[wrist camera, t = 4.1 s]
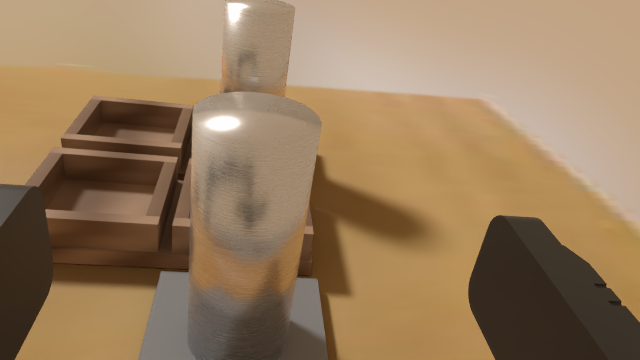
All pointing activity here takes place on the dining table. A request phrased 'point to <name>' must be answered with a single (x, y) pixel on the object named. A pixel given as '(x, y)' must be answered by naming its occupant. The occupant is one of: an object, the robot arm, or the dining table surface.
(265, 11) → the cylinder
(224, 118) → the steel billet
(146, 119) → the tray
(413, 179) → the dining table surface
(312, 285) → the rubber mat
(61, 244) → the tray
